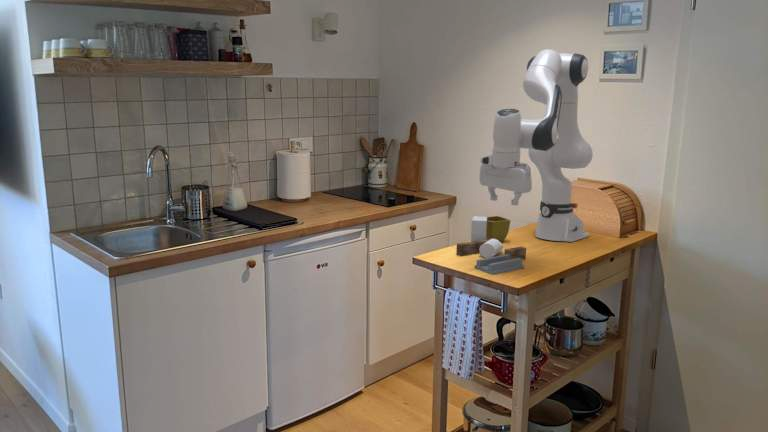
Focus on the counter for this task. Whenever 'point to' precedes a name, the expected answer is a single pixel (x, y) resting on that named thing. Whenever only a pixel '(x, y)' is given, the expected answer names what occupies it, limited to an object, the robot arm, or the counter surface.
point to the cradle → (499, 264)
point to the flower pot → (497, 228)
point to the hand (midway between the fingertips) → (504, 202)
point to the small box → (478, 228)
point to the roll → (490, 248)
